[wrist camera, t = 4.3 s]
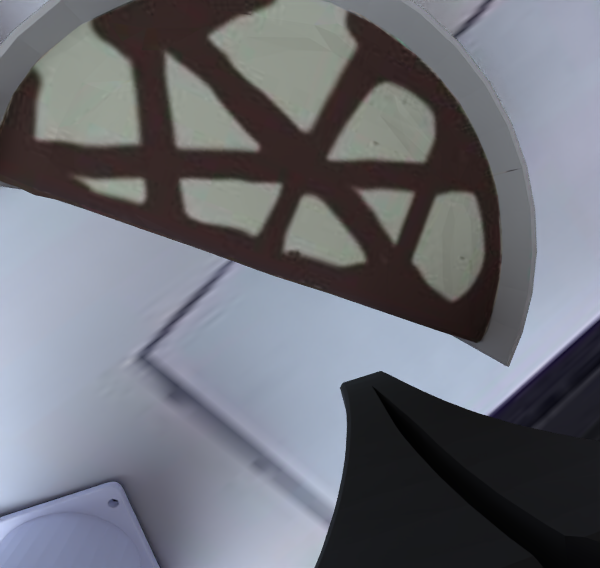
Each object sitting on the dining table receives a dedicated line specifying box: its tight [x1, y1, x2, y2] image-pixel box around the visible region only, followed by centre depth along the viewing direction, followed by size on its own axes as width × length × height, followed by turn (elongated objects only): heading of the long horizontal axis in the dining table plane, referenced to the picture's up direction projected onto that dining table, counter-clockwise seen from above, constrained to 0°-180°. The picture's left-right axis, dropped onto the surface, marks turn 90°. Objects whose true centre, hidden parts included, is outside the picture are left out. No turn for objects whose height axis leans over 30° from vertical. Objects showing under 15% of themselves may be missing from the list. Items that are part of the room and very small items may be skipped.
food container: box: [0, 0, 537, 367], centre depth 11 cm, size 12×6×10 cm, turn 70°
